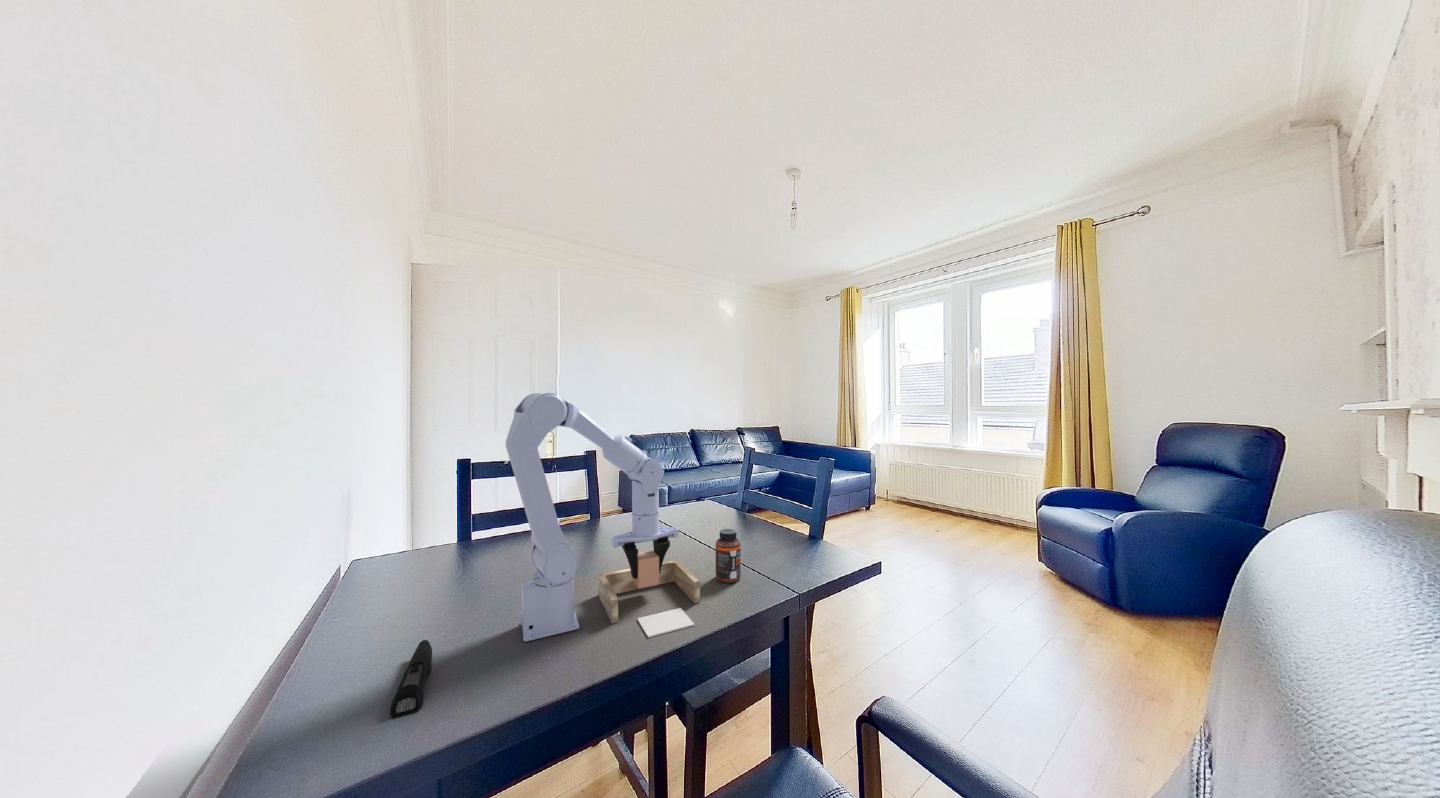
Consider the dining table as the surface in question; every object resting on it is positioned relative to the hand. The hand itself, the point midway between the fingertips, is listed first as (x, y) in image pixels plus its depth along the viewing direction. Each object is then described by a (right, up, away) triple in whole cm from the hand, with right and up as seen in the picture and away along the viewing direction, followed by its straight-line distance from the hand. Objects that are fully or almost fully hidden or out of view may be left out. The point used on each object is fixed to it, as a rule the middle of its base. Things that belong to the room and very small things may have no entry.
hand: (645, 574), depth 93 cm
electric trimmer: (-30, -6, -28) cm, 42 cm away
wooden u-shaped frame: (+1, -5, -1) cm, 5 cm away
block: (0, -2, 0) cm, 2 cm away
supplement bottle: (+18, -5, +9) cm, 21 cm away
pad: (+6, -5, -11) cm, 13 cm away
